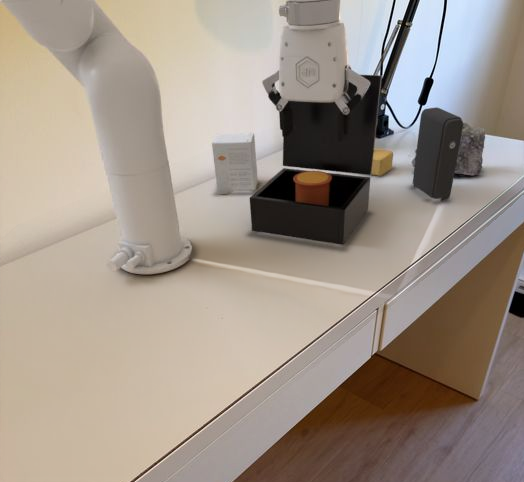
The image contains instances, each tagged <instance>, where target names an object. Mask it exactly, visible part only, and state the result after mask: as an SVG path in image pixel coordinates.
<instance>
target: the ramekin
mask: <svg viewBox="0 0 524 482" xmlns="http://www.w3.org/2000/svg"><path fill="white" fill-rule="evenodd" d="M328 173H329V172H326V171H323V170H306V172H301V173H299V174H297V175H295V176H294V178H293V181H294V182H295V202H303V203H311V204H319V205H326V206H329V195H330V181H331V180H332V177H331V175H330V174H328Z"/></svg>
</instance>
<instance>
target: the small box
mask: <svg viewBox="0 0 524 482" xmlns="http://www.w3.org/2000/svg"><path fill="white" fill-rule="evenodd" d="M211 148H212V158H213V164H214V174H215V181H216V189H217V194H218V195H231V194H232V193H233V192H234V191H255V190H256V188H257V186H258V183H259V182H258V180H259V179H258V167H257V166H258V165H257V152H256V138H255V133H254V132H249V133H225V134H223V133H221V134H216V135H215V137H214V139H213V141H212V143H211Z"/></svg>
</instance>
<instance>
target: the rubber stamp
mask: <svg viewBox="0 0 524 482" xmlns="http://www.w3.org/2000/svg"><path fill="white" fill-rule="evenodd" d="M378 117H379V116H378ZM378 117H377V124H378V123H379V118H378ZM377 126H378V125H377ZM377 126H376V128H377ZM393 159H394V151H392V150H387V149H383V148H375V147H374V154H373V163H372V172H371V175H373V176H376V177H377V176H378V177H382V176H383V175H385V174H386V173H387V172H389V171H390V170H392V169H393Z"/></svg>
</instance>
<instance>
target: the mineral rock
mask: <svg viewBox="0 0 524 482" xmlns="http://www.w3.org/2000/svg"><path fill="white" fill-rule="evenodd" d="M485 140H486V133H485V128H484V127H481V126H477V127H475V126H474V127H472V126H471V125H469V124H468V123H467V122H463V129H462V134H461V140H460V146H459V151H458V157H457V163H456V168H455V174H456V175H466V176H471V177H472V176H479V175H480V173H481V171H482V169H483V161H484V160H483V153H484V149H485ZM416 150H417V148H416V149H415V150H414V153H415V155H414V157H413V159H412V161H411V165H412V167H413V168H414V167H415V158H416Z"/></svg>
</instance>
